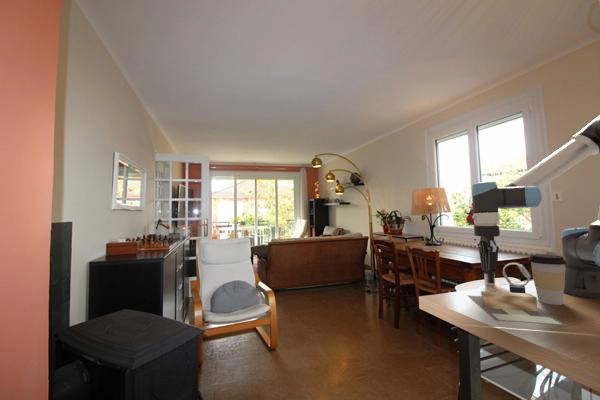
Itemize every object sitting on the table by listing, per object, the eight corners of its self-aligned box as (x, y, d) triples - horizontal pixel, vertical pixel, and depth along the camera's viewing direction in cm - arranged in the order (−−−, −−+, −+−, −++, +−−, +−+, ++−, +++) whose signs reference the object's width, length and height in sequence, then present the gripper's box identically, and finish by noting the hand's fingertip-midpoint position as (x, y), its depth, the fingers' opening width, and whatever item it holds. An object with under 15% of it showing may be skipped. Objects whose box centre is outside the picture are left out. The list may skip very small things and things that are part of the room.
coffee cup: (579, 307, 83) (575, 257, 84) (548, 307, 84) (544, 258, 84) (551, 298, 93) (548, 253, 94) (523, 298, 93) (520, 254, 94)
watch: (533, 298, 93) (530, 265, 94) (503, 294, 98) (501, 263, 99) (531, 294, 98) (529, 263, 99) (504, 290, 103) (502, 261, 104)
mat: (520, 299, 92) (520, 298, 92) (568, 326, 69) (568, 325, 69) (467, 296, 97) (467, 295, 97) (495, 321, 74) (495, 320, 74)
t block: (515, 298, 92) (515, 286, 93) (537, 311, 80) (536, 297, 80) (472, 296, 96) (471, 284, 96) (486, 308, 83) (486, 294, 84)
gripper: (468, 224, 105) (472, 286, 104) (480, 225, 93) (484, 296, 91) (491, 224, 103) (495, 287, 102) (506, 225, 91) (511, 297, 89)
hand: (490, 291), depth 97 cm, fingers closed
